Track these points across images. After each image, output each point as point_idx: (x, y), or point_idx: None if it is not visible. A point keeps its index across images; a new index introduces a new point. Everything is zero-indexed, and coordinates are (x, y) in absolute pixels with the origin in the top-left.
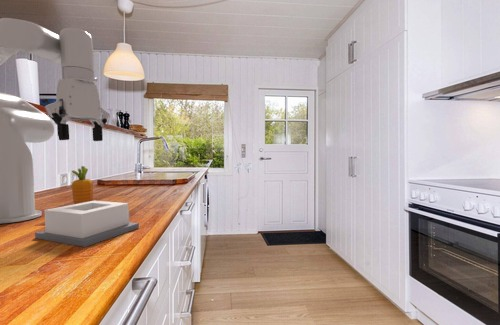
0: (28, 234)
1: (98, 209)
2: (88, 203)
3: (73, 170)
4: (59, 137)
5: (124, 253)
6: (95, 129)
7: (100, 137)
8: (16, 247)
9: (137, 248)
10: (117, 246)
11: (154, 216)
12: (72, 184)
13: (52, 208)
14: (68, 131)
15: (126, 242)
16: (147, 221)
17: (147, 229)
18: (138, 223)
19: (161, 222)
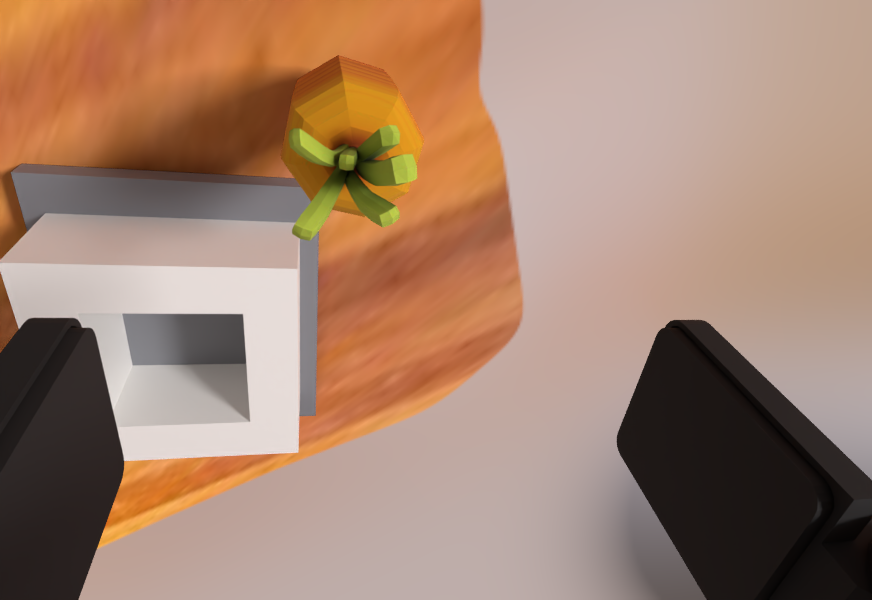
0: (25, 60)
1: (150, 451)
2: (223, 312)
3: (303, 147)
4: (19, 357)
5: (121, 513)
6: (750, 528)
7: (639, 475)
8: None
9: (163, 513)
10: (146, 470)
11: (480, 342)
12: (289, 111)
13: (43, 264)
14: (74, 584)
15: (183, 466)
16: (403, 369)
17: (313, 432)
18: (314, 415)
19: (403, 416)
